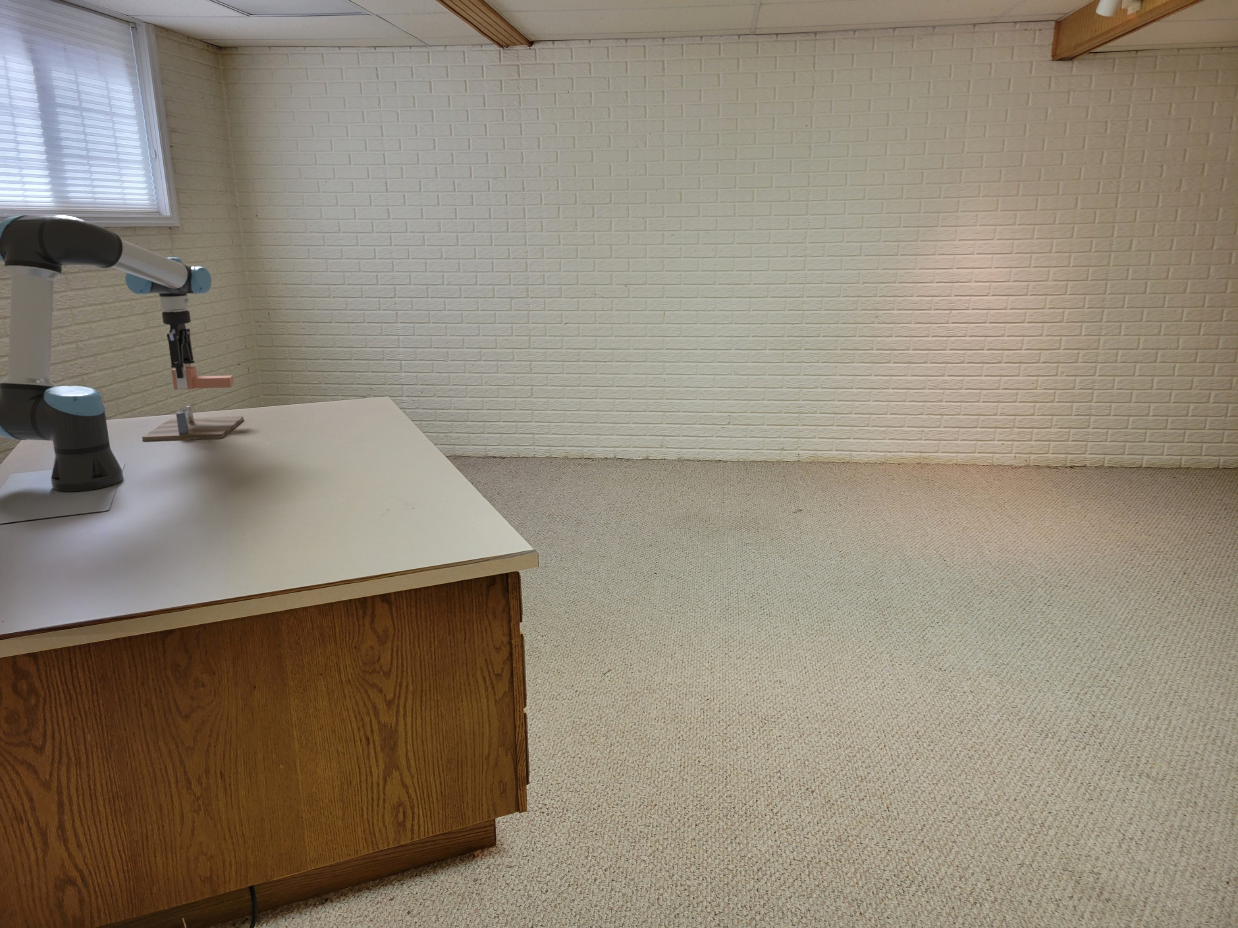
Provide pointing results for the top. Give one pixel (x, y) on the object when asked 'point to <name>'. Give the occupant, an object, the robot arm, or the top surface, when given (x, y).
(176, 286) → the robot arm
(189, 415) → the peg
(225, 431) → the board
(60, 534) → the top surface
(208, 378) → the link
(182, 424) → the bracket
